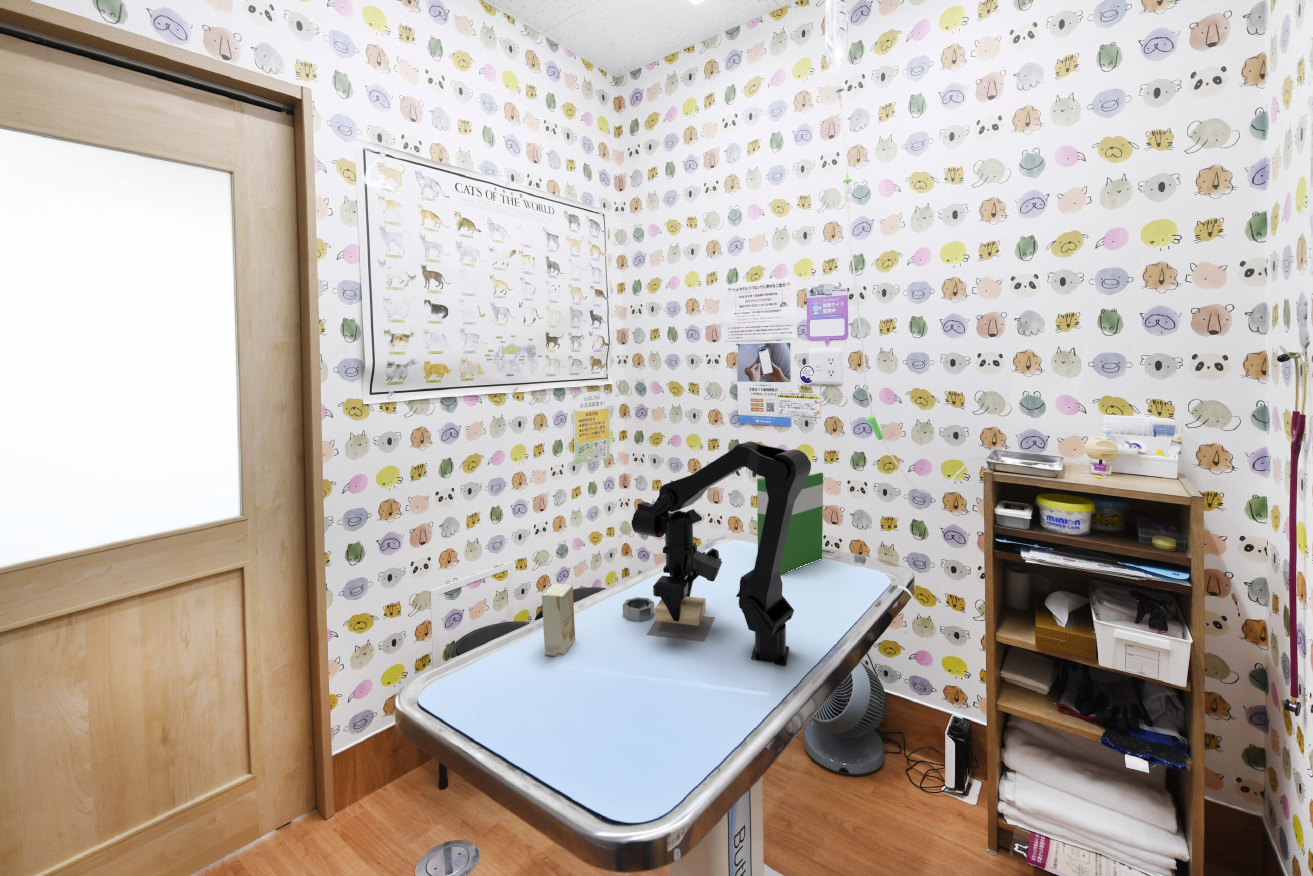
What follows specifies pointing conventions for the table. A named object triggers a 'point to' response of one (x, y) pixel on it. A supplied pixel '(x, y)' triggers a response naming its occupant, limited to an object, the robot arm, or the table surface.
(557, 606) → the skincare box
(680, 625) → the mat
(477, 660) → the table surface
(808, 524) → the hardback book
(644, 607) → the bowl
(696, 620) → the lid
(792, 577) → the table surface
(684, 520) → the robot arm
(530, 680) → the table surface
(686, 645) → the table surface
